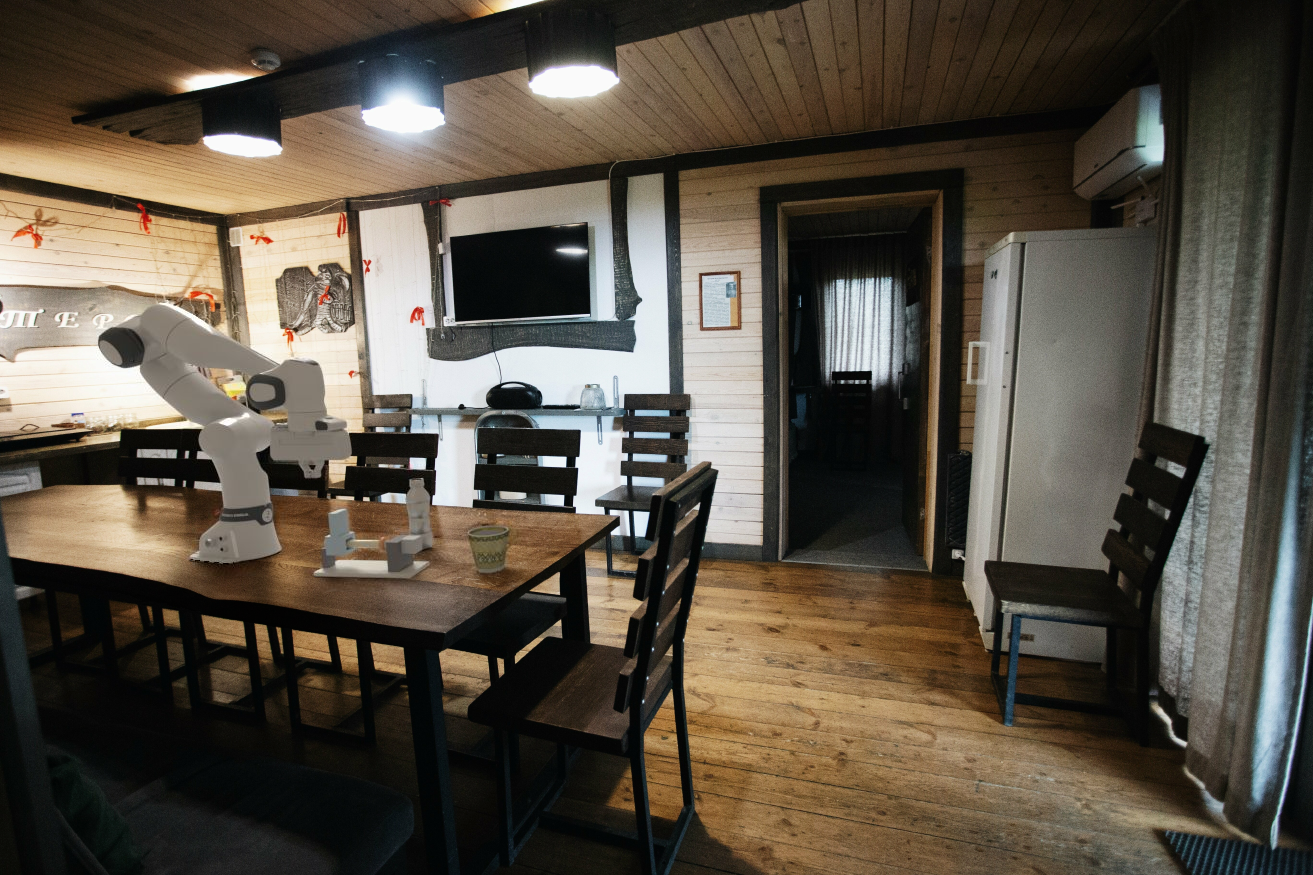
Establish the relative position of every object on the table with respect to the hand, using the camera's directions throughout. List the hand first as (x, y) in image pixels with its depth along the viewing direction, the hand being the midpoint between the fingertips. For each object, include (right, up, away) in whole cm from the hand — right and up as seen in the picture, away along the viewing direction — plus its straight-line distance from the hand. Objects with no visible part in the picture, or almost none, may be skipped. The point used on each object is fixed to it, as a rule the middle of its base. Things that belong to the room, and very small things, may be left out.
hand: (312, 477), depth 162 cm
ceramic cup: (+46, -23, +1) cm, 52 cm away
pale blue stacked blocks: (+6, -19, +1) cm, 20 cm away
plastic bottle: (+20, -22, +19) cm, 35 cm away
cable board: (+15, -24, +1) cm, 28 cm away
